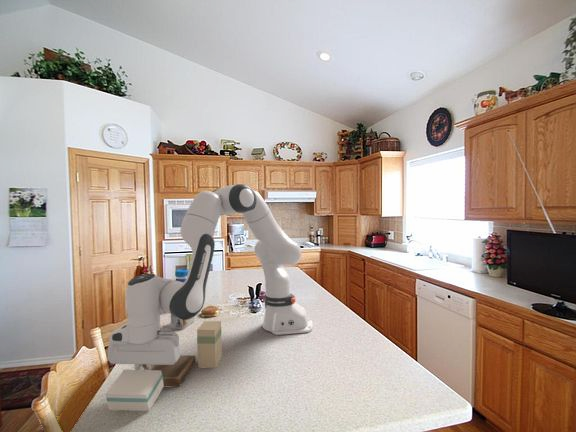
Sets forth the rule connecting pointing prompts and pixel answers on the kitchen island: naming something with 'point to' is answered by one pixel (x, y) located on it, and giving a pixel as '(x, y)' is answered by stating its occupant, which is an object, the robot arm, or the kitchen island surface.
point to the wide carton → (135, 390)
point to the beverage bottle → (181, 275)
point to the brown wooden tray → (175, 370)
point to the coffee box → (180, 322)
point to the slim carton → (209, 344)
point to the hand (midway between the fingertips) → (145, 377)
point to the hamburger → (210, 311)
